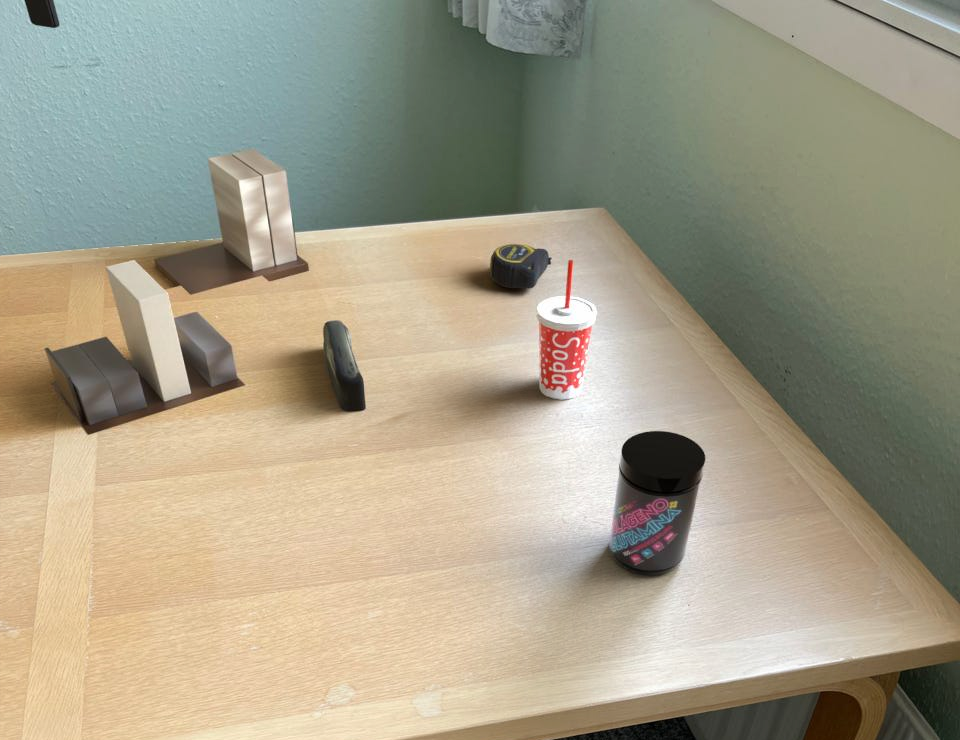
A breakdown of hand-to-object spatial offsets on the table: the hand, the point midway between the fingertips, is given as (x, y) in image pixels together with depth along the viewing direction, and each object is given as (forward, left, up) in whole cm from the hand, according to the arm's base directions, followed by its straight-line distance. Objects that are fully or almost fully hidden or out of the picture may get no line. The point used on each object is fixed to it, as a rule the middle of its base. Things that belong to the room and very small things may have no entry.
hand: (5, 37), depth 87 cm
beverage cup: (+38, -37, -31) cm, 62 cm away
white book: (+3, -13, -29) cm, 32 cm away
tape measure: (+50, -14, -31) cm, 60 cm away
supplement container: (+27, -63, -31) cm, 75 cm away
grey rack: (+1, -13, -30) cm, 33 cm away
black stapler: (+19, -23, -31) cm, 43 cm away
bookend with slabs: (+21, +10, -30) cm, 38 cm away
